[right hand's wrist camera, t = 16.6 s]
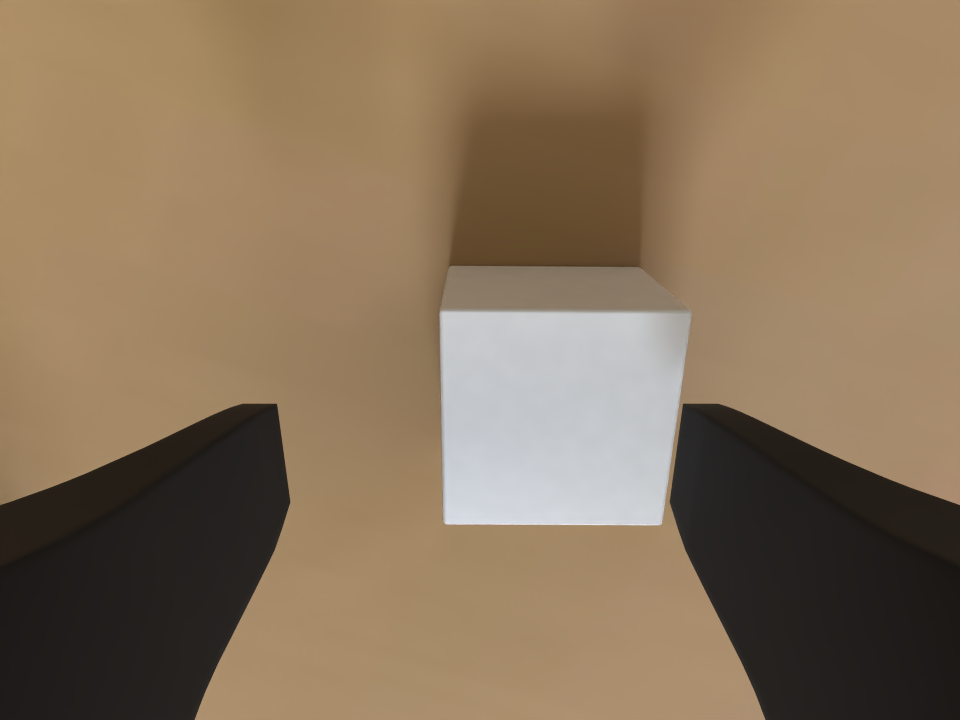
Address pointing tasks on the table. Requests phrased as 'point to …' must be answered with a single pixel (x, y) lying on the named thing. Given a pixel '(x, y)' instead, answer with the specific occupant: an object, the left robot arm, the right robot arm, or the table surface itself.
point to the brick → (558, 394)
